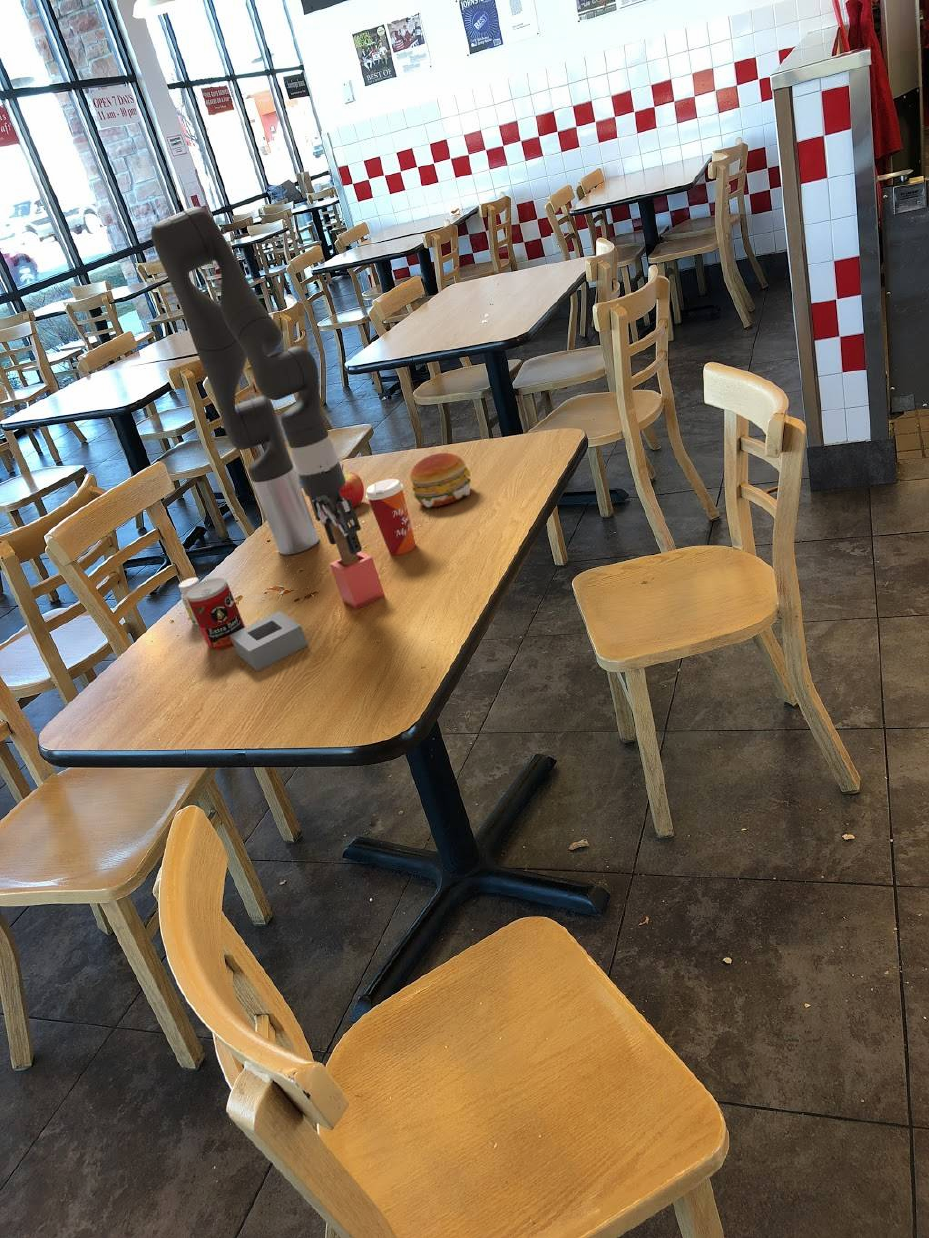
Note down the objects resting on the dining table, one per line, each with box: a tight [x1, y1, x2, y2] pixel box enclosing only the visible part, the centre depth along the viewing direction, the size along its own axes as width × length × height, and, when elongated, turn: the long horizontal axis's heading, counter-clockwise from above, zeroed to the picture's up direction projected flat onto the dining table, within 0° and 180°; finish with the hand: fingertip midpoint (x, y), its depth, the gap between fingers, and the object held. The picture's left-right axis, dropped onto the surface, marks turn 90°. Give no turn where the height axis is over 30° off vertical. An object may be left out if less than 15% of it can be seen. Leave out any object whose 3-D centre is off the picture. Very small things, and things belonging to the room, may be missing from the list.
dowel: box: [329, 518, 359, 567], centre depth 181 cm, size 3×3×15 cm
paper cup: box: [365, 478, 416, 556], centre depth 199 cm, size 8×8×14 cm
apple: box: [340, 463, 365, 508], centre depth 231 cm, size 8×8×10 cm
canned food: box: [186, 577, 246, 650], centre depth 182 cm, size 8×8×11 cm
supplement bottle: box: [178, 577, 201, 626], centre depth 194 cm, size 5×5×8 cm
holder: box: [230, 610, 309, 672], centre depth 175 cm, size 10×10×4 cm
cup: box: [329, 551, 386, 610], centre depth 183 cm, size 6×6×8 cm
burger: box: [409, 452, 471, 508], centre depth 219 cm, size 13×14×10 cm
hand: (346, 547), depth 180 cm, fingers open, 8 cm apart
